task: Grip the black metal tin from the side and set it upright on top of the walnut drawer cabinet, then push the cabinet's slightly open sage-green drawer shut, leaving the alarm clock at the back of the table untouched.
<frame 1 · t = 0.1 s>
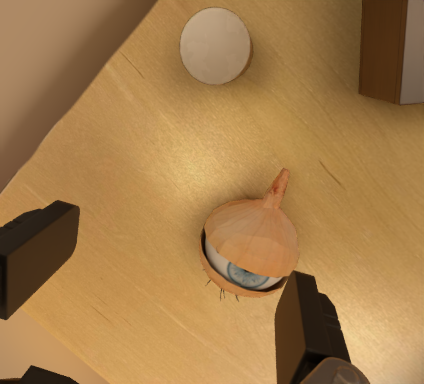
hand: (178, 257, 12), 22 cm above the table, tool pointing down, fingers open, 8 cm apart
sculpture: (254, 216, 36), on the table
tin: (226, 52, 30), on the table
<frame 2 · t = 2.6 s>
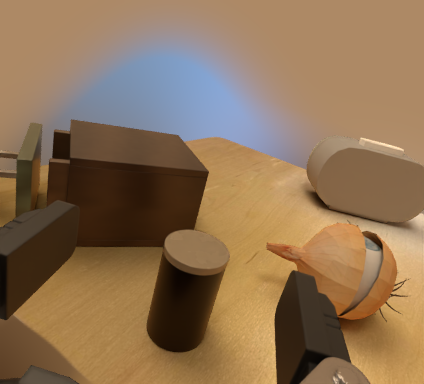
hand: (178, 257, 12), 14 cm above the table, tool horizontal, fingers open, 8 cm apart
drawer: (66, 177, 37), point 5 cm above the table, slide at 3.0 cm
cabinet: (123, 217, 41), on the table
sculpture: (318, 302, 36), on the table
tin: (175, 327, 28), on the table
alarm clock: (351, 208, 66), on the table
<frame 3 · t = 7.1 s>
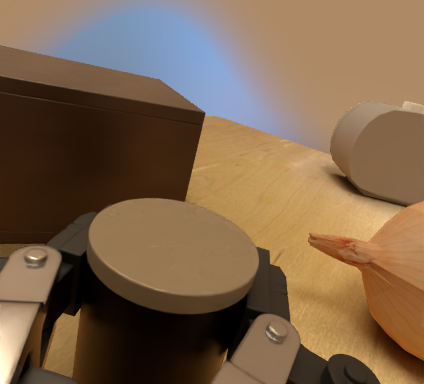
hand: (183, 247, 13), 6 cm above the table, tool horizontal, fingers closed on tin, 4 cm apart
cabinet: (72, 198, 26), on the table
sculpture: (394, 336, 21), on the table
alarm clock: (388, 195, 51), on the table
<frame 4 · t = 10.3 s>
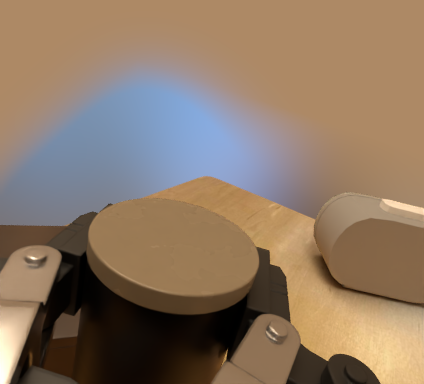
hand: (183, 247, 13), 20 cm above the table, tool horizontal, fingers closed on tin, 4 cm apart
cabinet: (60, 360, 29), on the table
alarm clock: (369, 280, 53), on the table
when the fingers open (16 cm above the table, at t = 13.8 s): tin stays where it is, resting on cabinet.
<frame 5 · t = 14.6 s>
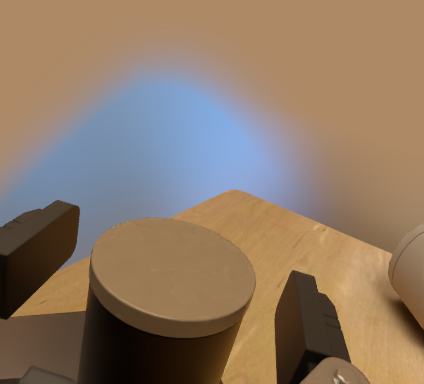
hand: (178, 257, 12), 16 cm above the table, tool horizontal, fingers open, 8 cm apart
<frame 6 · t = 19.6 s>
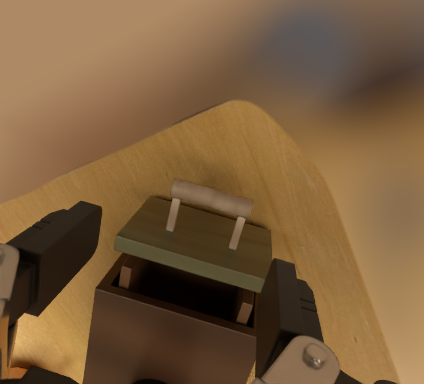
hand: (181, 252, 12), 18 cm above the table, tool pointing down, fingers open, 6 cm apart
drawer: (192, 274, 28), point 5 cm above the table, slide at 3.0 cm
cabinet: (187, 300, 35), on the table
sculpture: (36, 374, 43), on the table
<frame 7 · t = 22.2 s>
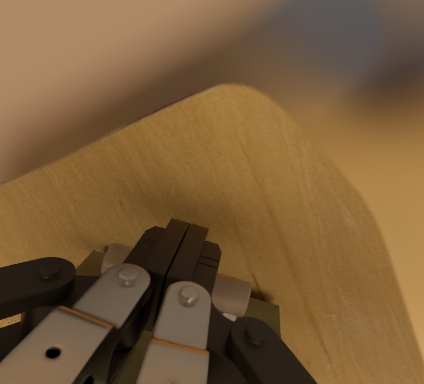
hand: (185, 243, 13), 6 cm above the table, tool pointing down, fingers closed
drawer: (152, 383, 18), point 5 cm above the table, slide at 2.1 cm, touching gripper
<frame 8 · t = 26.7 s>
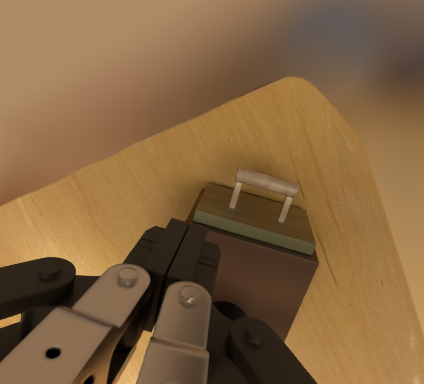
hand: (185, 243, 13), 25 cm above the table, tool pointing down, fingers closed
drawer: (245, 244, 36), point 5 cm above the table, slide at 0.0 cm
cabinet: (238, 250, 41), on the table
tin: (224, 320, 34), point 10 cm above the table, touching cabinet
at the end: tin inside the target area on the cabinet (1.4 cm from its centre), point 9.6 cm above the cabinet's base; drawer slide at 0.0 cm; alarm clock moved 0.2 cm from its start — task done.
